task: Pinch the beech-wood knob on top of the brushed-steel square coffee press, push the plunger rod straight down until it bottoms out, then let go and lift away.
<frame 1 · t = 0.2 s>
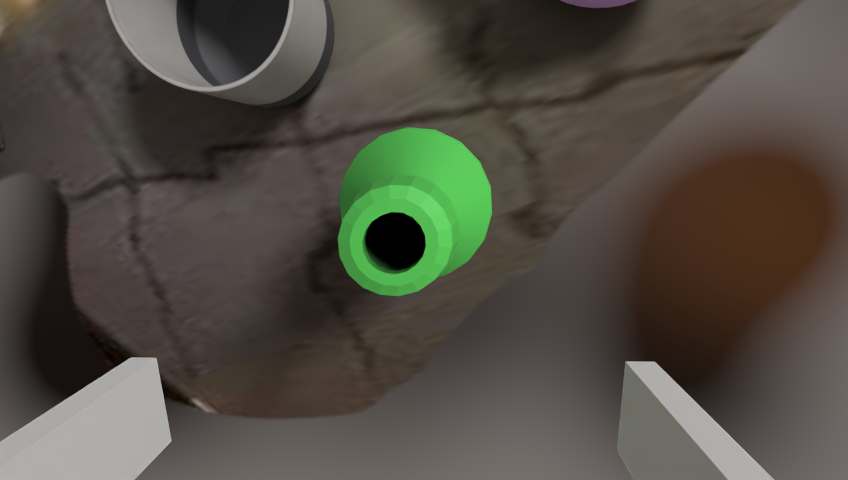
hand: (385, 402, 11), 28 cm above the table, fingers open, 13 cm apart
bottle: (427, 186, 38), on the table
planter: (269, 36, 36), on the table
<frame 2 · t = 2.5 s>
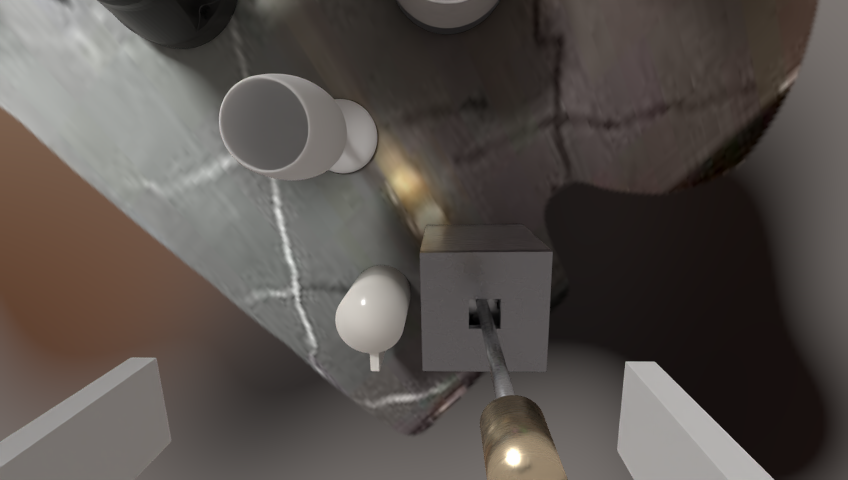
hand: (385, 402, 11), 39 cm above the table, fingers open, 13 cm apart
wineglass: (342, 136, 48), on the table
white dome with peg: (382, 292, 52), on the table
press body: (473, 270, 50), on the table
plunger: (495, 358, 29), point 22 cm above the table, slide at 9.0 cm
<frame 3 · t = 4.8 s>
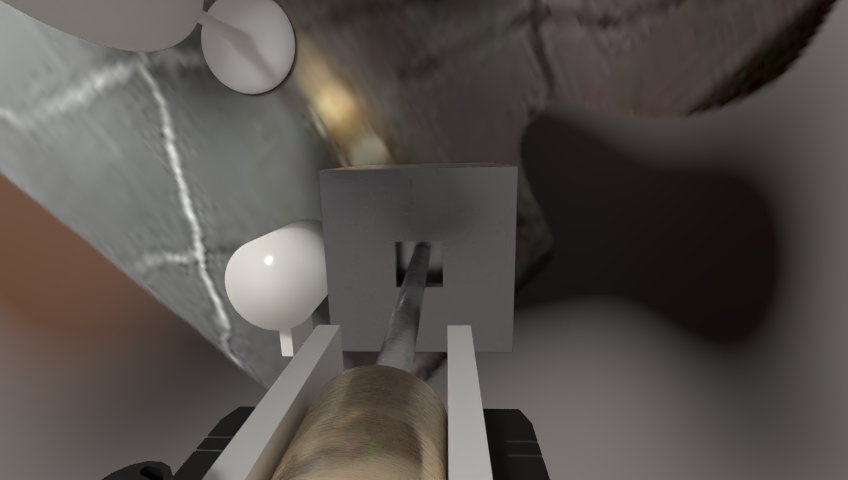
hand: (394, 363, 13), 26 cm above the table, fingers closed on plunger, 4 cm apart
wineglass: (250, 44, 36), on the table
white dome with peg: (310, 256, 40), on the table
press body: (428, 226, 38), on the table
plunger: (406, 315, 17), point 22 cm above the table, slide at 9.0 cm, touching gripper
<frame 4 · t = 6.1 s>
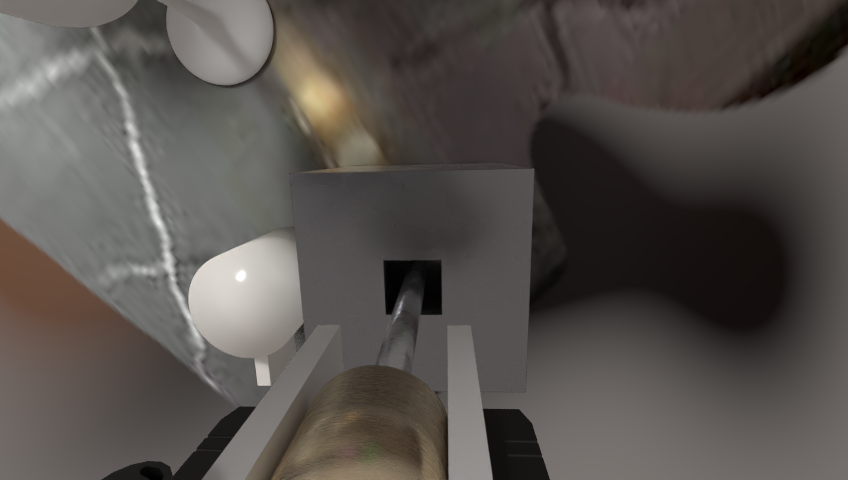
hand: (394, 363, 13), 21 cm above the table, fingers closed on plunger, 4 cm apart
wineglass: (222, 28, 31), on the table
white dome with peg: (293, 268, 35), on the table
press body: (426, 234, 34), on the table
plunger: (406, 315, 17), point 17 cm above the table, slide at 4.5 cm, touching gripper
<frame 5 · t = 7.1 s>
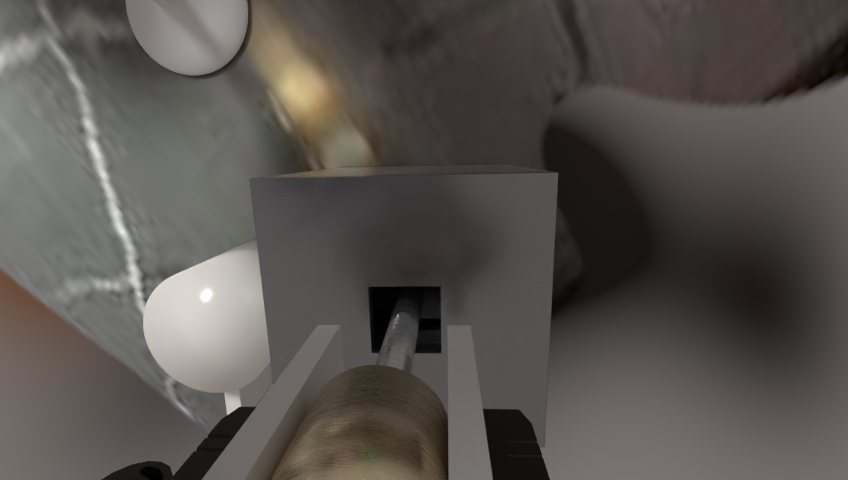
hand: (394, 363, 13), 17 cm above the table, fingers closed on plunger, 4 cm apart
wineglass: (190, 10, 27), on the table
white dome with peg: (274, 283, 31), on the table
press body: (423, 245, 30), on the table
plunger: (406, 315, 17), point 13 cm above the table, slide at 0.5 cm, touching gripper
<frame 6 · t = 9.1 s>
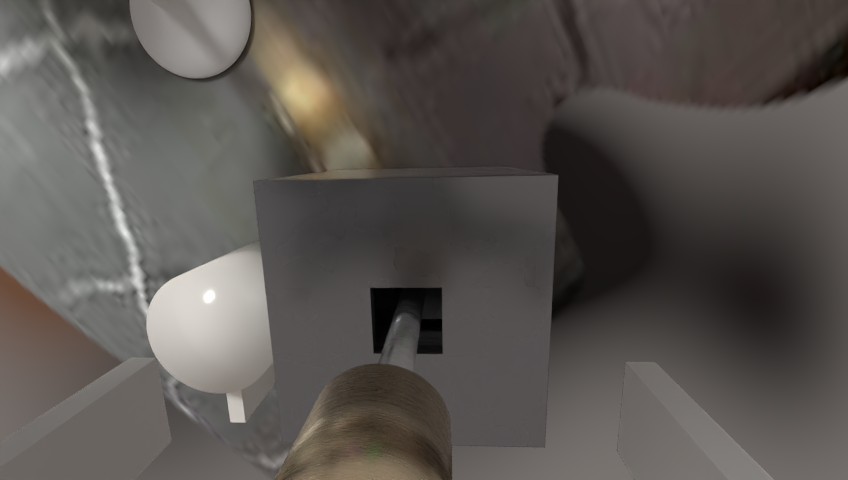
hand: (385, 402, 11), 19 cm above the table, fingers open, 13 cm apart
wineglass: (193, 14, 28), on the table
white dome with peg: (276, 284, 31), on the table
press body: (424, 247, 30), on the table
plunger: (408, 316, 17), point 13 cm above the table, slide at 0.4 cm
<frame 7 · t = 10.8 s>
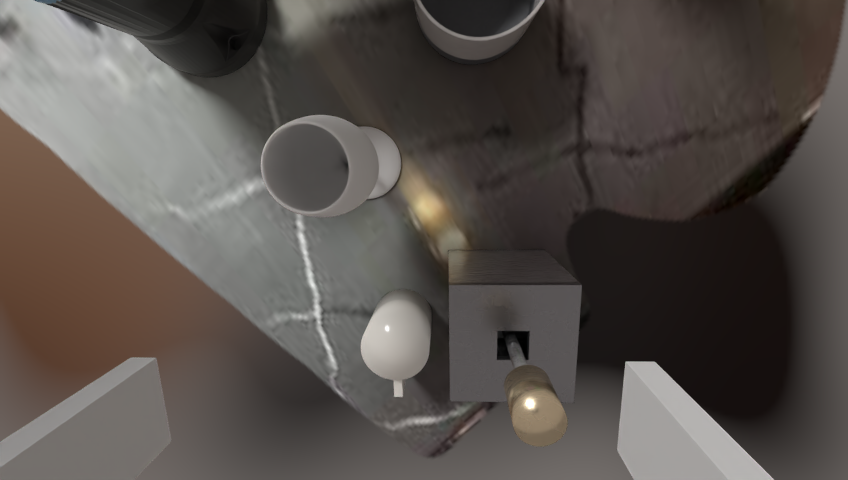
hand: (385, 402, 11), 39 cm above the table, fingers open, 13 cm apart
wineglass: (366, 163, 48), on the table
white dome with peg: (403, 316, 52), on the table
planter: (473, 6, 44), on the table
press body: (495, 295, 50), on the table
plunger: (512, 342, 38), point 13 cm above the table, slide at 0.4 cm
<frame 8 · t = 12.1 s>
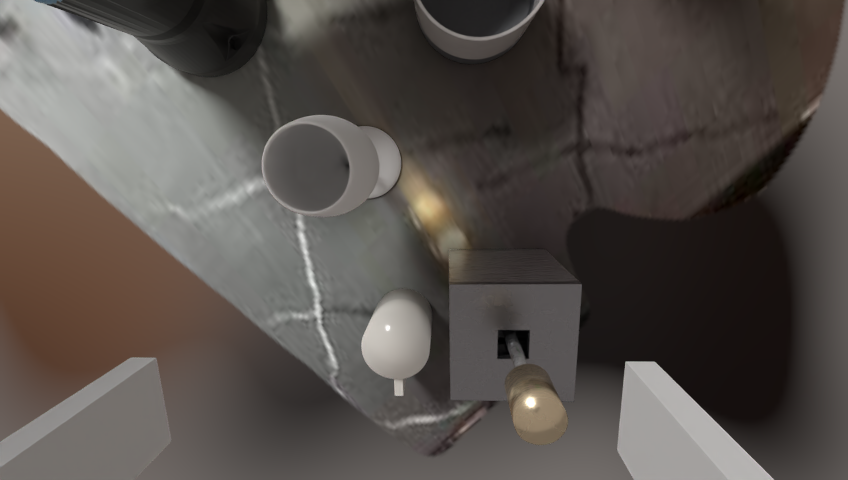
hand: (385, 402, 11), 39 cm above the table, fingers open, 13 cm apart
wineglass: (366, 162, 48), on the table
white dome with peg: (403, 315, 52), on the table
planter: (473, 5, 44), on the table
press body: (495, 294, 51), on the table
plunger: (512, 341, 38), point 13 cm above the table, slide at 0.4 cm
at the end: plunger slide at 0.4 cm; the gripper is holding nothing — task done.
